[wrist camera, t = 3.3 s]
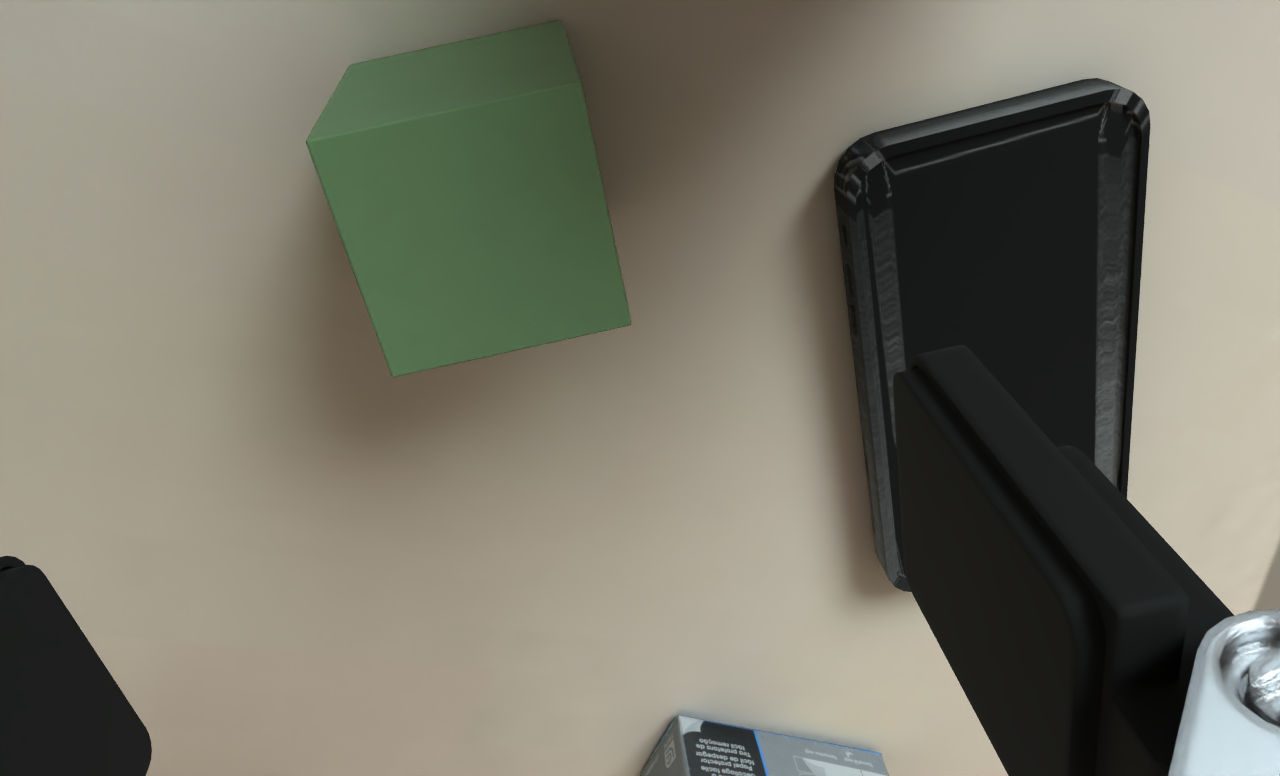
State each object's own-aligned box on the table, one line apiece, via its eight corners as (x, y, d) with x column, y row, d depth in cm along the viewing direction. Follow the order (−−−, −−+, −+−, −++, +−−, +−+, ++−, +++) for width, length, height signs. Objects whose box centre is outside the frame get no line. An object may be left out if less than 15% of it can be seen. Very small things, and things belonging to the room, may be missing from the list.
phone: (1153, 78, 24) (1124, 541, 31) (1127, 67, 25) (1105, 519, 32) (837, 158, 24) (886, 601, 31) (824, 144, 25) (875, 577, 32)
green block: (413, 262, 25) (391, 378, 20) (348, 64, 22) (304, 140, 17) (604, 220, 25) (632, 325, 20) (561, 18, 22) (581, 80, 17)
